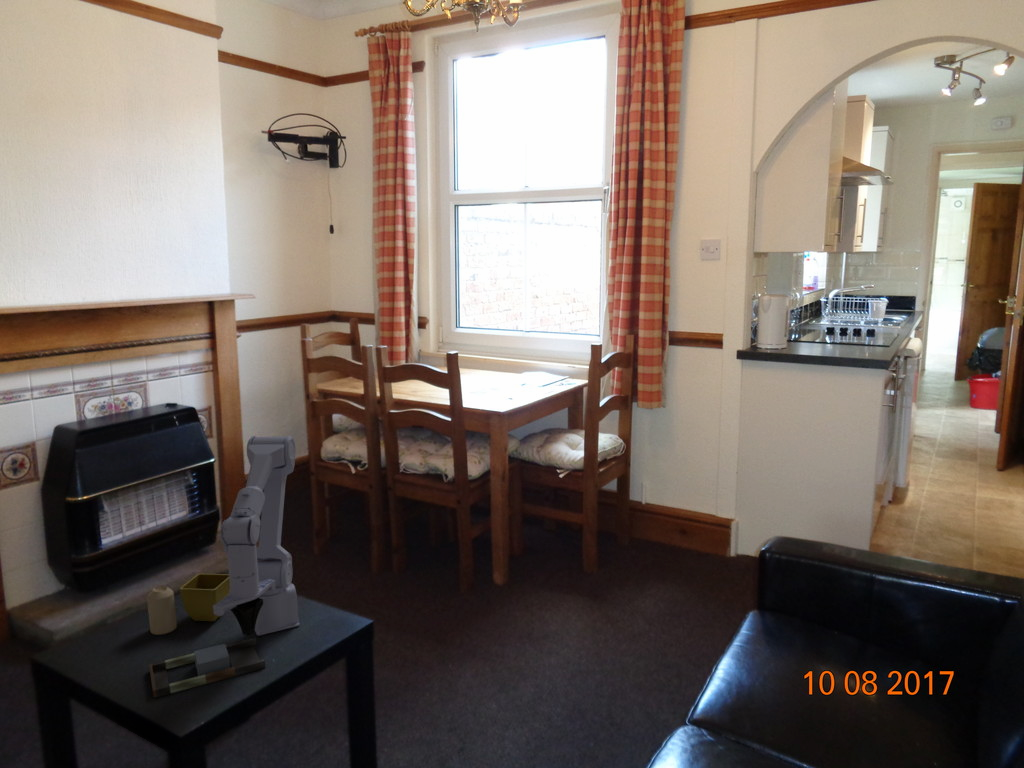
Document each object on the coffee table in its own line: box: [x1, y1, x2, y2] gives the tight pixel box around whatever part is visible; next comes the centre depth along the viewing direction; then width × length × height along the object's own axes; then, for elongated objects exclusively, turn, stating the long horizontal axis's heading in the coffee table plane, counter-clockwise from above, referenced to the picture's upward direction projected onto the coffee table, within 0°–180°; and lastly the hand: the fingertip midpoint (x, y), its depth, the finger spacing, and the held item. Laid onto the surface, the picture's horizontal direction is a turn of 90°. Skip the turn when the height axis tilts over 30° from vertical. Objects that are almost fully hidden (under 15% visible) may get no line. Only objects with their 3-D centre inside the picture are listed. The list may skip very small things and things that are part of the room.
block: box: [193, 643, 231, 676], centre depth 153 cm, size 6×6×4 cm
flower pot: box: [179, 573, 230, 622], centre depth 175 cm, size 9×9×9 cm
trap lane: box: [148, 637, 266, 699], centre depth 153 cm, size 21×11×2 cm, turn 119°
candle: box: [146, 585, 178, 636], centre depth 169 cm, size 6×6×10 cm
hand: (248, 633), depth 156 cm, fingers closed
